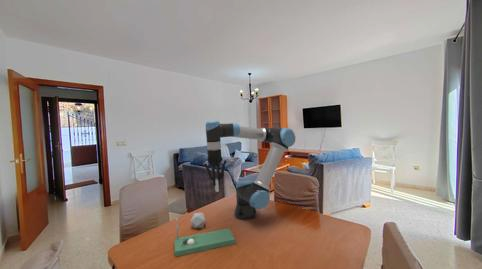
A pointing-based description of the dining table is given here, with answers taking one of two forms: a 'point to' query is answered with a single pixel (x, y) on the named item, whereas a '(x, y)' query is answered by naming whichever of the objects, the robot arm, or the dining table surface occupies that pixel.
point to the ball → (190, 242)
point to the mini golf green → (203, 241)
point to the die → (198, 220)
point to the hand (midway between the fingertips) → (217, 190)
